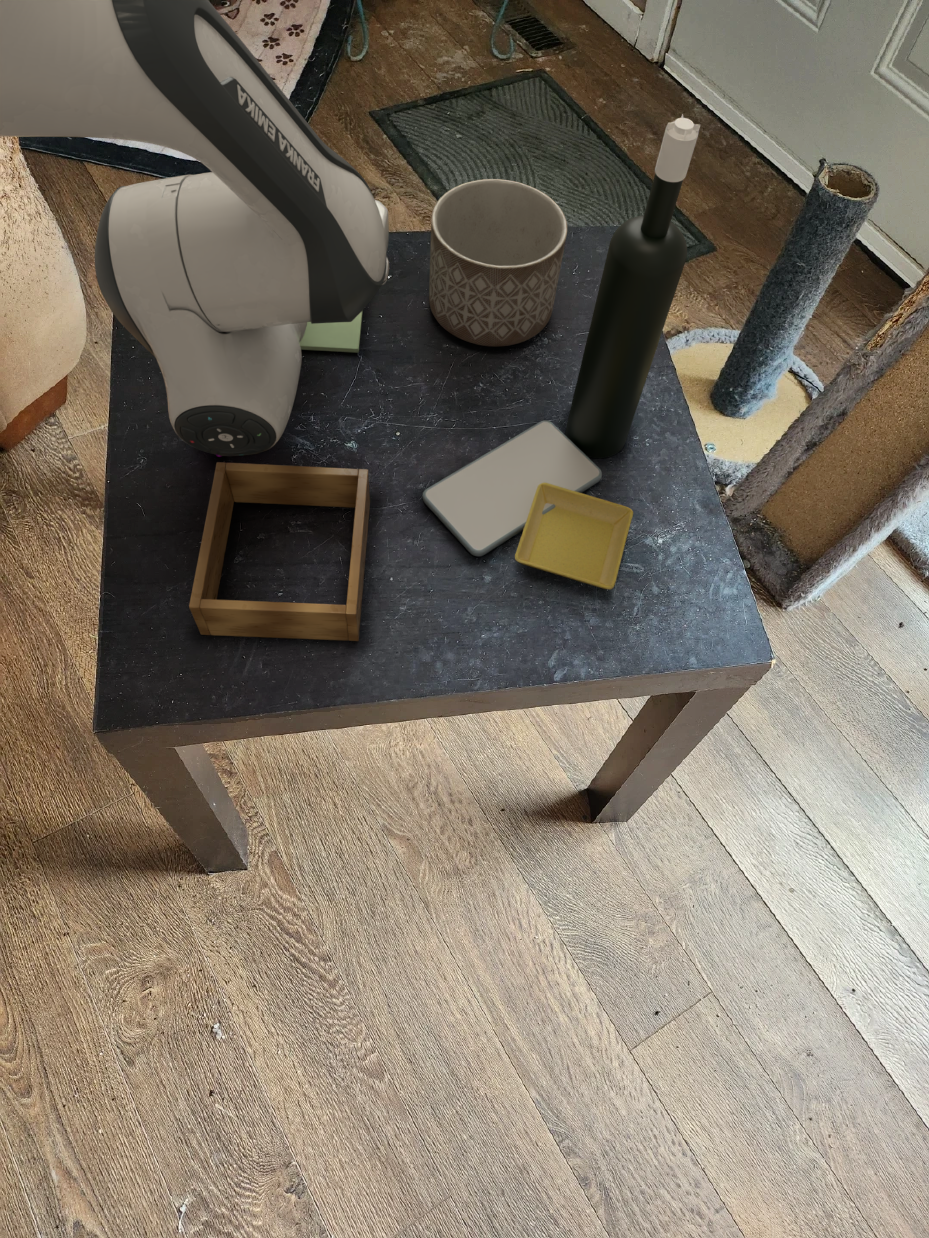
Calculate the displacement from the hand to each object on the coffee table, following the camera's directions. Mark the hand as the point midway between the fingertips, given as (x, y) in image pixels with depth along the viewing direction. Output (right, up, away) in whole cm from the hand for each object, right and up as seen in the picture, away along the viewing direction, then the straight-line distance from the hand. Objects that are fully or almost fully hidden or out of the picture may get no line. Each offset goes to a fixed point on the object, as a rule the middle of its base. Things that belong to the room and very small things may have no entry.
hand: (276, 175), depth 76 cm
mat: (-1, -8, +12) cm, 14 cm away
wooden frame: (+2, -34, -2) cm, 34 cm away
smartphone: (+21, -27, +3) cm, 34 cm away
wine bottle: (+29, -21, +7) cm, 36 cm away
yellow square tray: (+26, -32, 0) cm, 41 cm away
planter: (+19, -7, +14) cm, 25 cm away
